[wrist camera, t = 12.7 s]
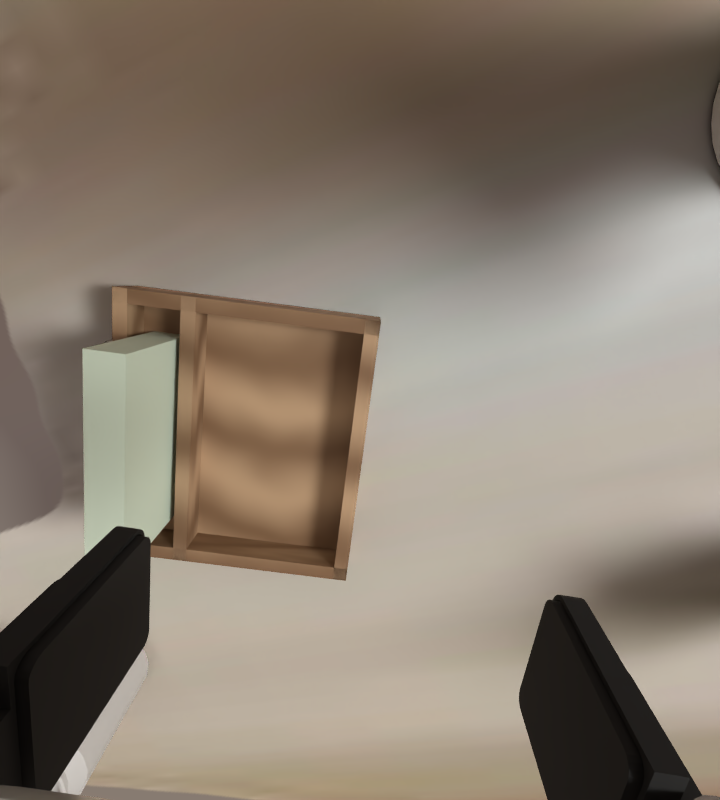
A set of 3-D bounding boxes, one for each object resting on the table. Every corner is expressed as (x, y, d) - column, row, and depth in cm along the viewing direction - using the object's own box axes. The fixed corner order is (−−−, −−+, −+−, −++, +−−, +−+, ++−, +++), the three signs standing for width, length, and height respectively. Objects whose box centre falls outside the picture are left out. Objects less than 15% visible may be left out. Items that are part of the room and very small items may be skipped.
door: (153, 330, 35) (80, 348, 26) (187, 335, 35) (126, 354, 26) (148, 504, 38) (83, 571, 29) (179, 508, 38) (123, 576, 29)
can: (116, 604, 42) (18, 730, 30) (169, 664, 43) (96, 806, 31) (53, 643, 43) (-65, 778, 31) (108, 700, 44) (14, 850, 33)
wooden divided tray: (128, 284, 35) (102, 285, 31) (379, 317, 35) (380, 321, 32) (127, 528, 40) (105, 551, 36) (347, 555, 40) (345, 580, 37)
